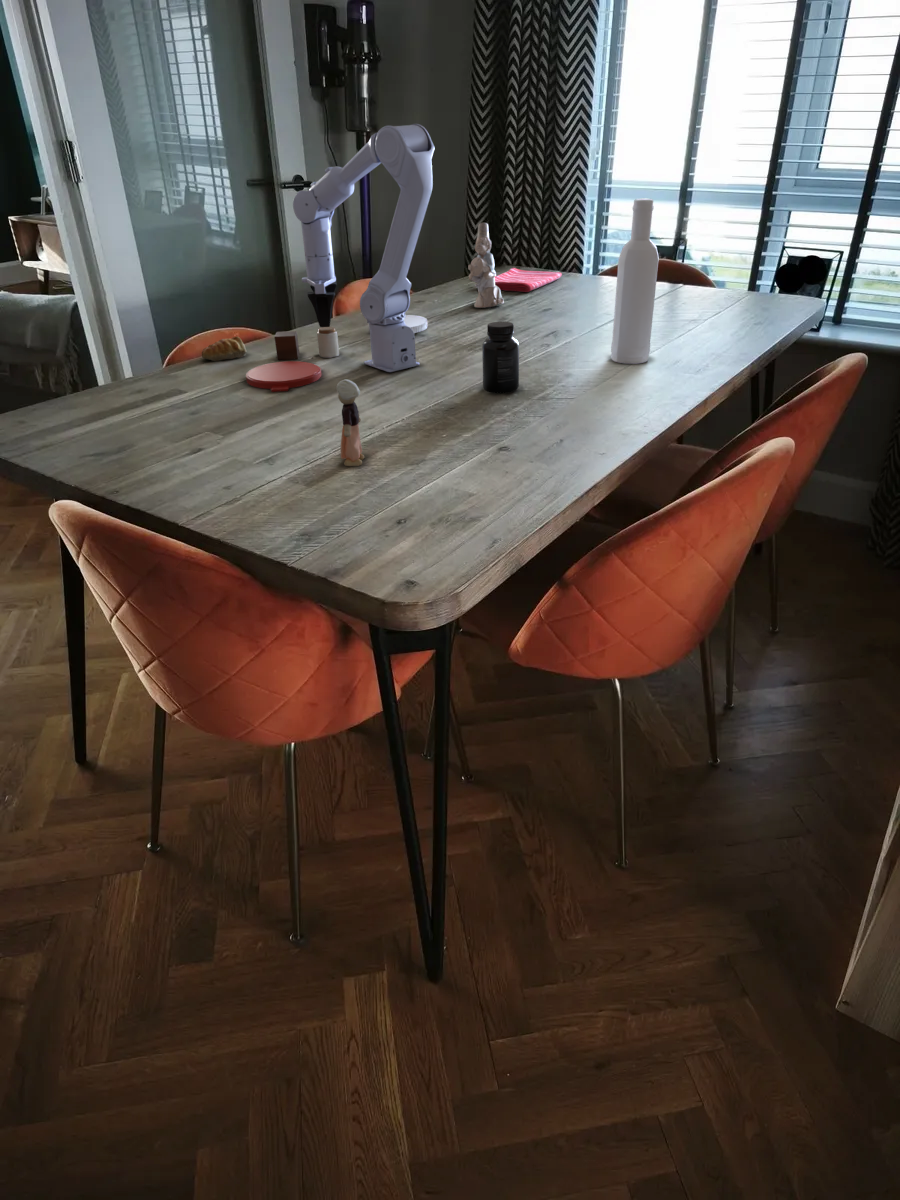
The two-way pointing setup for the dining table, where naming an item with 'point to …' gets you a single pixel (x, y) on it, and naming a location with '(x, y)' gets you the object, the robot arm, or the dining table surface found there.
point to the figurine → (484, 271)
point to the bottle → (635, 290)
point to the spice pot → (327, 342)
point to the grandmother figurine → (350, 424)
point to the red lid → (283, 375)
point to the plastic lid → (415, 323)
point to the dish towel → (524, 279)
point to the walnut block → (287, 345)
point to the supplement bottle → (500, 359)
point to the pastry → (225, 349)
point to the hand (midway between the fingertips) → (325, 322)
